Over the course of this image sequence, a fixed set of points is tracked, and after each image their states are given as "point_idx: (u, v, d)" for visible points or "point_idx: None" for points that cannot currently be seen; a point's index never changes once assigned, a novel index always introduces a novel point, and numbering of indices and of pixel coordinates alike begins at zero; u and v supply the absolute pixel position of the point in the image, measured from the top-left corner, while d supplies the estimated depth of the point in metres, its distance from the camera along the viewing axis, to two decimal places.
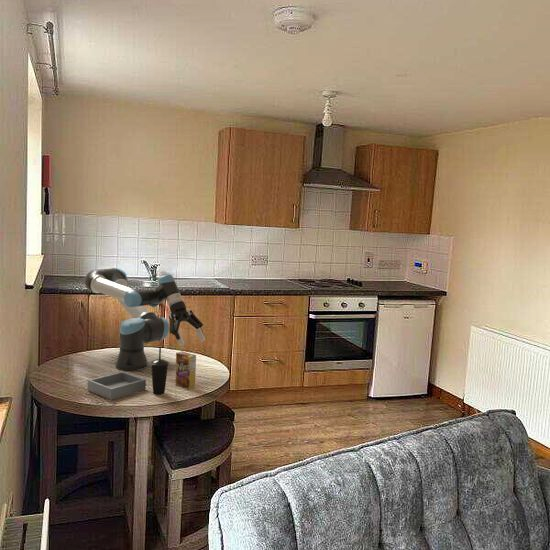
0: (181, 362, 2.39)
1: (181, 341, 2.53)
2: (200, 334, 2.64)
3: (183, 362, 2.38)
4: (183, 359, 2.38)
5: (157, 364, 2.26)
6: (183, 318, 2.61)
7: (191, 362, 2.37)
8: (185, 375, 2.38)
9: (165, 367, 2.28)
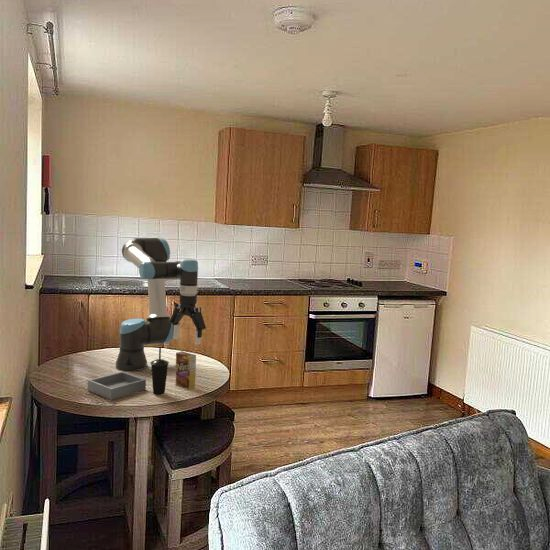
0: (180, 362, 2.39)
1: None
2: None
3: (183, 362, 2.38)
4: (183, 359, 2.38)
5: (157, 364, 2.26)
6: (185, 313, 2.37)
7: (191, 362, 2.37)
8: (185, 375, 2.38)
9: (165, 367, 2.28)
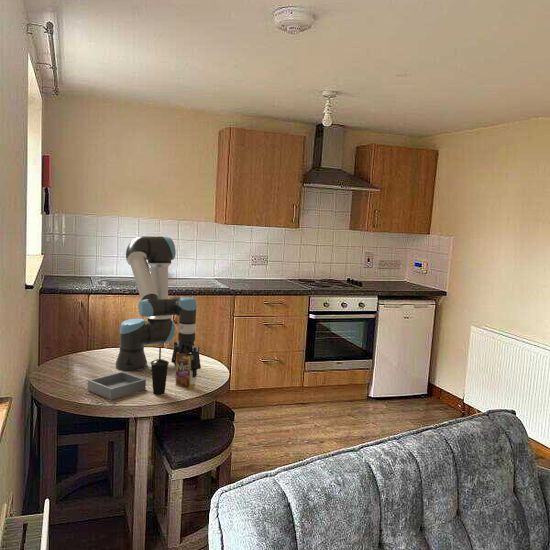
0: (181, 362, 2.39)
1: None
2: None
3: (183, 362, 2.38)
4: (183, 358, 2.38)
5: (157, 364, 2.26)
6: (183, 350, 2.39)
7: None
8: (185, 375, 2.38)
9: (165, 367, 2.28)
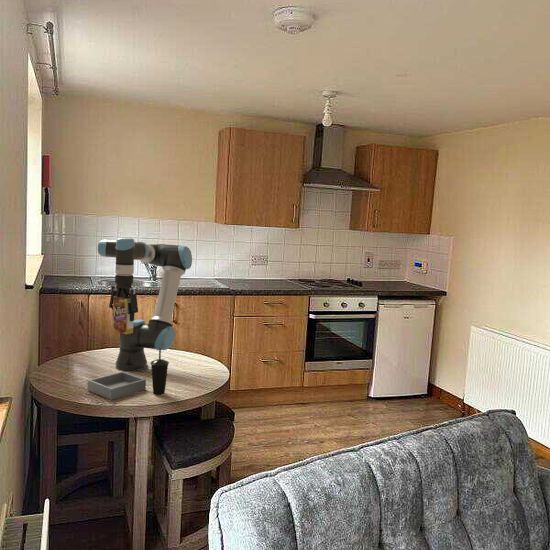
0: (117, 306, 2.28)
1: None
2: None
3: (120, 306, 2.27)
4: (120, 302, 2.27)
5: (157, 364, 2.26)
6: (121, 294, 2.28)
7: None
8: (122, 319, 2.27)
9: (165, 367, 2.28)
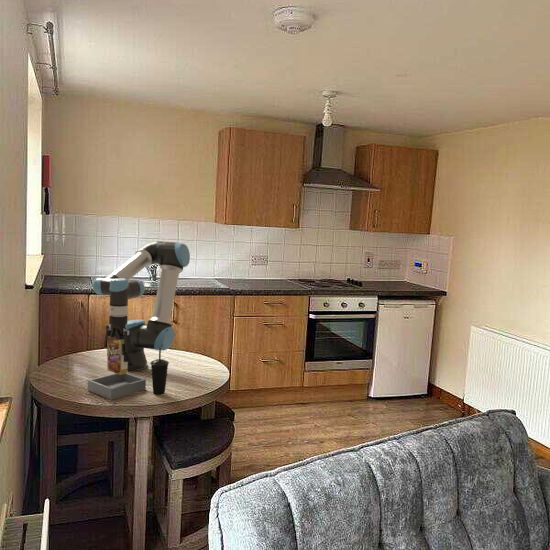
0: (112, 347, 2.29)
1: None
2: None
3: (114, 346, 2.28)
4: (114, 342, 2.27)
5: (157, 364, 2.26)
6: (115, 334, 2.29)
7: None
8: (116, 360, 2.28)
9: (165, 367, 2.28)
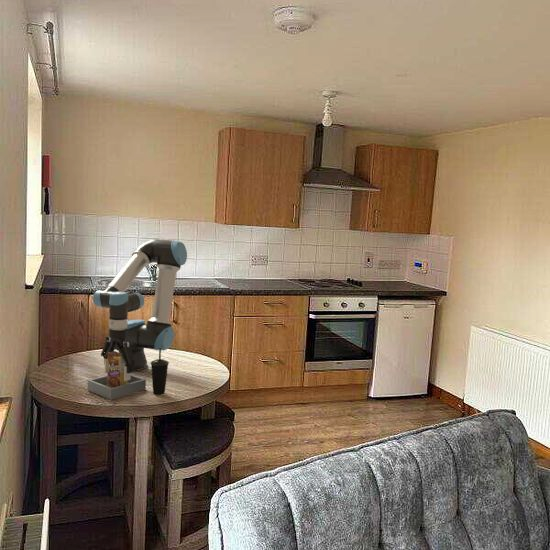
0: (112, 363, 2.29)
1: None
2: None
3: (114, 363, 2.28)
4: (114, 359, 2.28)
5: (157, 364, 2.26)
6: (114, 347, 2.29)
7: (122, 362, 2.27)
8: (116, 376, 2.28)
9: (165, 367, 2.28)
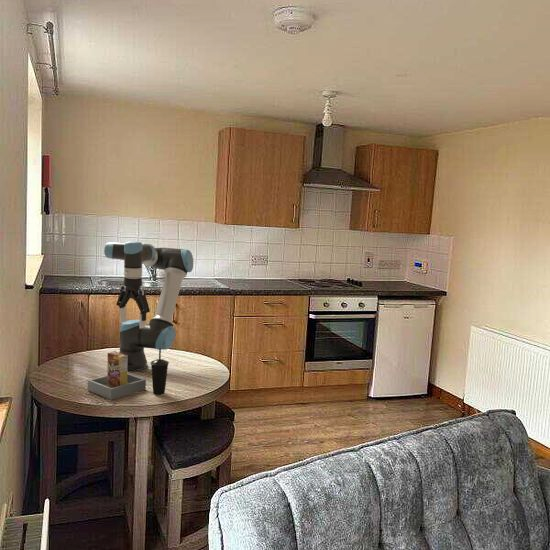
0: (112, 363, 2.29)
1: None
2: None
3: (114, 363, 2.28)
4: (114, 359, 2.28)
5: (157, 364, 2.26)
6: (130, 296, 2.33)
7: (122, 362, 2.27)
8: (116, 376, 2.28)
9: (165, 367, 2.28)
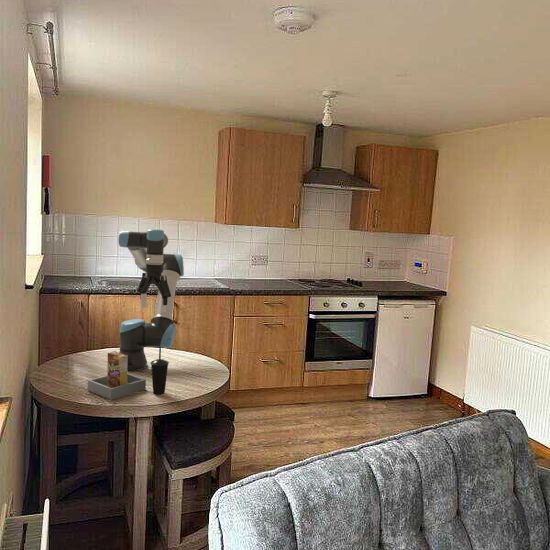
0: (112, 363, 2.29)
1: None
2: None
3: (114, 363, 2.28)
4: (114, 359, 2.28)
5: (157, 364, 2.26)
6: (151, 282, 2.43)
7: (122, 362, 2.27)
8: (116, 376, 2.28)
9: (165, 367, 2.28)
